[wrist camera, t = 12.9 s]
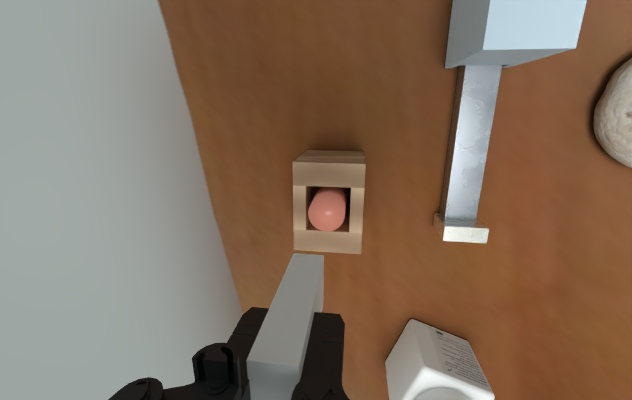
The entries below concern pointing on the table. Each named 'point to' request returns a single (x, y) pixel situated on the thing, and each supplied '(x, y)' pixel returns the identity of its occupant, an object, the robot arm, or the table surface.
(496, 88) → the rail
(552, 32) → the carriage
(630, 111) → the stone
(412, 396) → the container
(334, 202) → the plunger
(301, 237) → the wooden box
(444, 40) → the table surface
